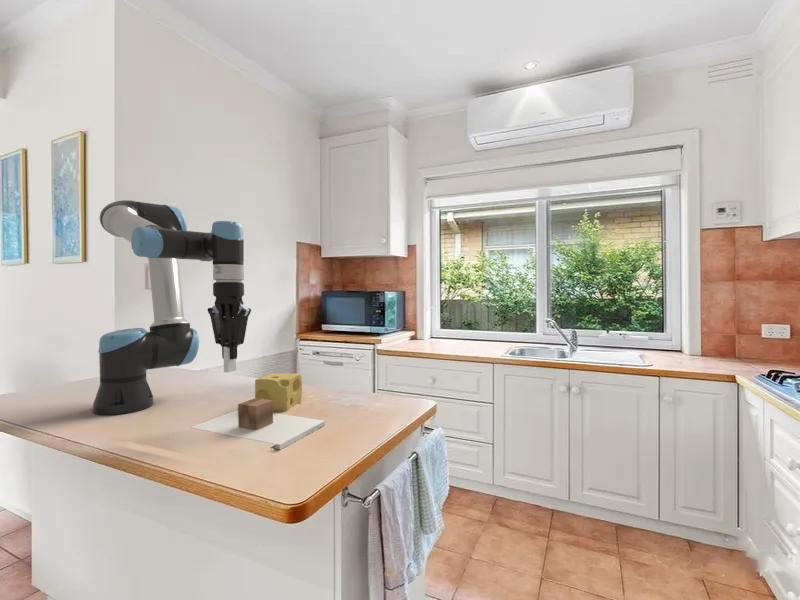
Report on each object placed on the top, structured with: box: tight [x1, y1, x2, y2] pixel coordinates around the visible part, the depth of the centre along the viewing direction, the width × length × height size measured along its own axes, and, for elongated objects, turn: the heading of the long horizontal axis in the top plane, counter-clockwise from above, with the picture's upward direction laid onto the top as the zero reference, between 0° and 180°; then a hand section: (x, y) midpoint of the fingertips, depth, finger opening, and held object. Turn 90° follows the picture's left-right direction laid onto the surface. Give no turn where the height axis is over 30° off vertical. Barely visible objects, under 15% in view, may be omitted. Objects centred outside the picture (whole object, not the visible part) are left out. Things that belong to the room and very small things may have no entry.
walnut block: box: [237, 397, 274, 431], centre depth 106 cm, size 6×6×6 cm
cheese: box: [254, 372, 303, 412], centre depth 125 cm, size 10×11×10 cm
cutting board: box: [190, 409, 326, 450], centre depth 107 cm, size 28×18×1 cm, turn 67°
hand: (230, 371), depth 109 cm, fingers closed
